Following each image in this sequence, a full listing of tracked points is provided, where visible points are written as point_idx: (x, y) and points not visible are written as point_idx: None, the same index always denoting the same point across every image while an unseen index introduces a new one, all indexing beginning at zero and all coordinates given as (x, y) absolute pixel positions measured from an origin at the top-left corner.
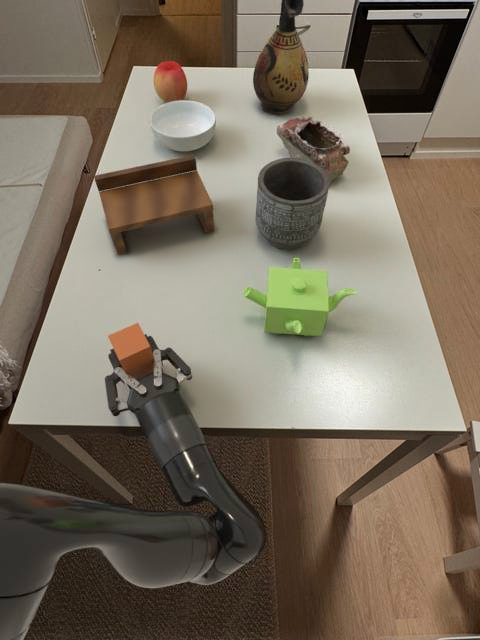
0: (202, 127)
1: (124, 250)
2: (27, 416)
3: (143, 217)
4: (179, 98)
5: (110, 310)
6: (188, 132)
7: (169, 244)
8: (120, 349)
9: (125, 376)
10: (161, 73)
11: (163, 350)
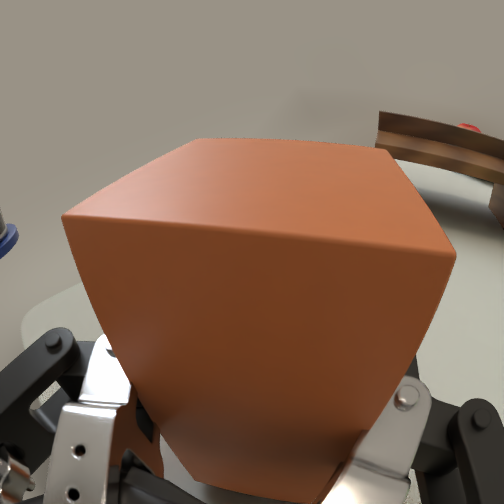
0: None
1: None
2: (25, 322)
3: (435, 152)
4: None
5: None
6: None
7: (455, 227)
8: (163, 176)
9: (98, 403)
10: (463, 126)
11: (442, 406)
